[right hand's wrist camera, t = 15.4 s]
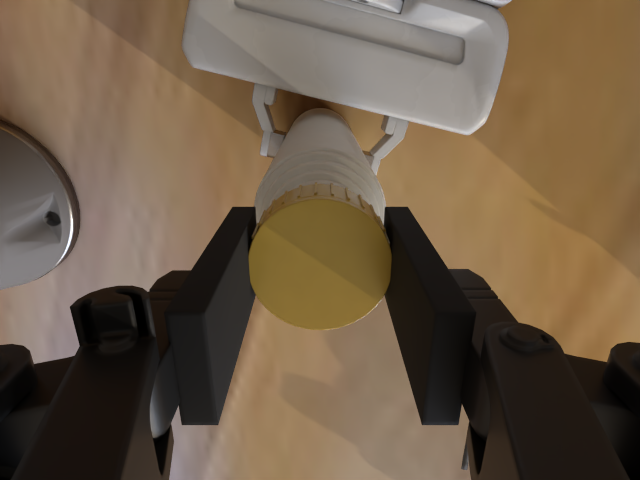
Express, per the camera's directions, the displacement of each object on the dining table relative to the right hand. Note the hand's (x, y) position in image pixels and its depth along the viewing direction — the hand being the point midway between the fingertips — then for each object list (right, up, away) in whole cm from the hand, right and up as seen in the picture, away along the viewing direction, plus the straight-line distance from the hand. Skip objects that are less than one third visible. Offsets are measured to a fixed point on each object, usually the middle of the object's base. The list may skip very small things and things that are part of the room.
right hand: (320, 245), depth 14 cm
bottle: (0, +9, +22) cm, 23 cm away
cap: (0, -1, -1) cm, 2 cm away
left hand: (0, +5, +16) cm, 17 cm away
